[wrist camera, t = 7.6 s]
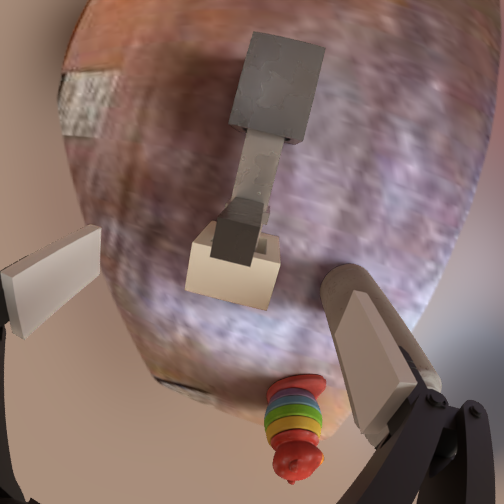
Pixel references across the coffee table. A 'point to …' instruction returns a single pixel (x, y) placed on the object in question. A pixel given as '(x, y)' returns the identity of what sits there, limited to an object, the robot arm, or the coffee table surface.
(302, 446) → the stacking bear
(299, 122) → the grey block
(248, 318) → the coffee table surface
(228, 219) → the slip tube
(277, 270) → the socket block
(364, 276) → the thermos bottle
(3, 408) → the robot arm
